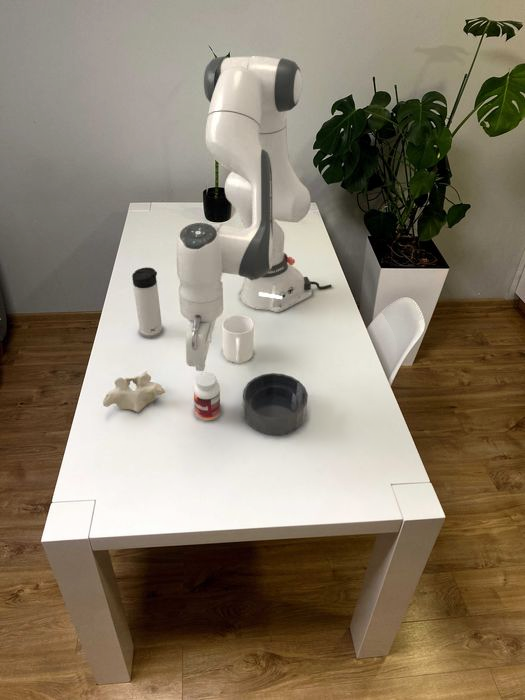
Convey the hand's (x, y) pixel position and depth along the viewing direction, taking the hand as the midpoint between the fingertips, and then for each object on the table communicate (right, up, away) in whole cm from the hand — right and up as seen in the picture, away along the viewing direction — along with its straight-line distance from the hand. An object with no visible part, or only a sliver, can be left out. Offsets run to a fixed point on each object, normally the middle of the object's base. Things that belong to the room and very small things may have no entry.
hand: (204, 354), depth 120 cm
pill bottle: (0, -14, +12) cm, 19 cm away
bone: (-17, -12, +14) cm, 25 cm away
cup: (+6, -1, +28) cm, 28 cm away
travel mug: (-19, +6, +35) cm, 40 cm away
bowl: (+16, -14, +12) cm, 24 cm away
